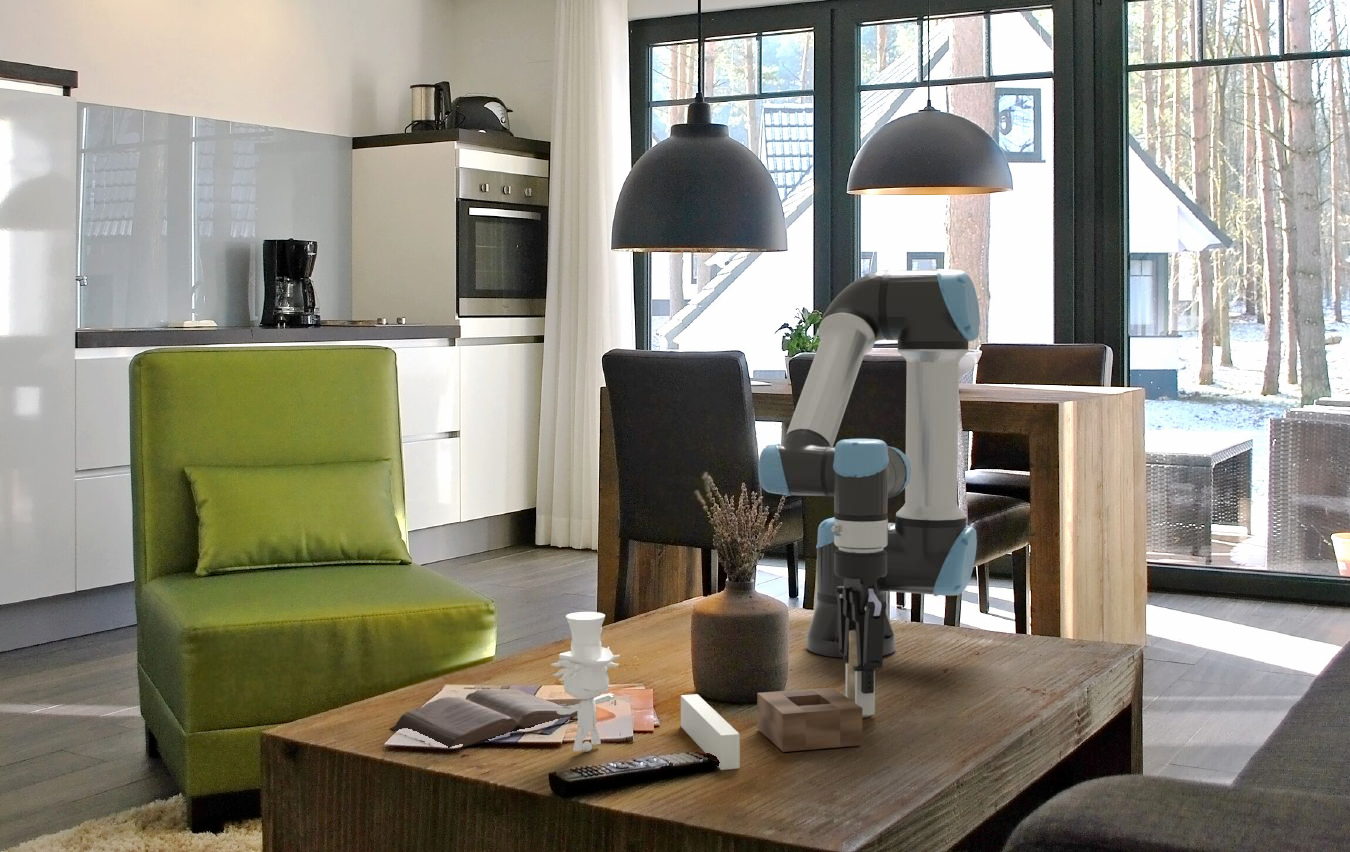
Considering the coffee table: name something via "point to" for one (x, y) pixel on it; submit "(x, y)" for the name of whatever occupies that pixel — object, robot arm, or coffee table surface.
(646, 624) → the coffee table surface
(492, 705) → the book
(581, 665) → the figurine
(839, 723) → the block
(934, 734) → the coffee table surface
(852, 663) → the dowel
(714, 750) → the wall
